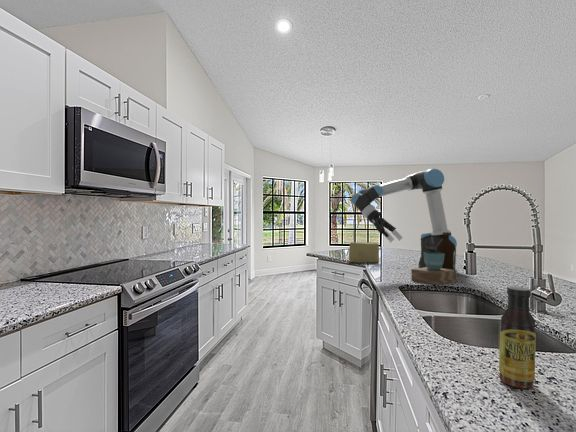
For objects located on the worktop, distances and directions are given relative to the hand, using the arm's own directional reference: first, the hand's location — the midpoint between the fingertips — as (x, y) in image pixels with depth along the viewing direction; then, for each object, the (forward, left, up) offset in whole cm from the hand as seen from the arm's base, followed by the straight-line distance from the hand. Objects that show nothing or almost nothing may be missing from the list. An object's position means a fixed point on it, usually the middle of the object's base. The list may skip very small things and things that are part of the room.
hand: (397, 239), depth 196 cm
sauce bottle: (+77, +98, -22) cm, 127 cm away
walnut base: (-8, +18, -21) cm, 29 cm away
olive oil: (-28, +12, -22) cm, 37 cm away
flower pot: (-8, +18, -16) cm, 25 cm away
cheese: (-32, -60, -22) cm, 72 cm away
